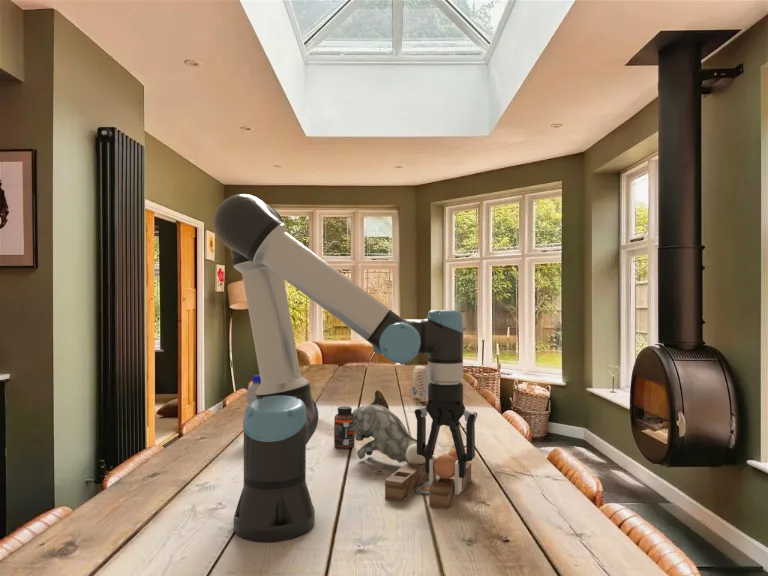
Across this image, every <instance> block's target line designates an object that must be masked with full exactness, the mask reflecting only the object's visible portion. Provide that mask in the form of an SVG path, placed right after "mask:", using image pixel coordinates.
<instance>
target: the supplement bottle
mask: <svg viewBox="0 0 768 576" xmlns="http://www.w3.org/2000/svg"><path fill="white" fill-rule="evenodd" d="M352 413H353V411H352V407H351V406H347V405H343V406H338V407H337V413H336V414H335V415H334V420H333V421H334V423H333V427H334V428H333V430H334V431H333V437H334V439H333V442H334V443H333V445H334V447H335V448H337V449H343V450H345V449H347V450H348V449H351V448H354V447H355V443H356V442H355V440H356V439H355V433H354V430H353V422H352Z"/></svg>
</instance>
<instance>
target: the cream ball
mask: <svg viewBox="0 0 768 576" xmlns="http://www.w3.org/2000/svg"><path fill="white" fill-rule="evenodd" d="M406 458H407V460H408V462H409V463H410V464H412V465H421V464H423V463H424V462H425V457H424V456H422V455H418V454H417V444H412V445H410V446H409V447H408V448H407V451H406Z"/></svg>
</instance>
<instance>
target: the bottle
mask: <svg viewBox="0 0 768 576" xmlns="http://www.w3.org/2000/svg"><path fill="white" fill-rule="evenodd" d="M251 382H252V383H251V384H249V385H248V386H247V392H246V393H247V394H246V402H247V406H248V405H249V404H250V403H251V402H253V401H254V400H257V398H256V391H257V389H258V388H259V386H260V385H261V379H260V374H254V375H253V376H252V378H251Z"/></svg>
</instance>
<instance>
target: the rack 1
mask: <svg viewBox="0 0 768 576" xmlns="http://www.w3.org/2000/svg"><path fill="white" fill-rule="evenodd" d="M427 479H429V473H426V471H425V462H424V463H423V464H421V465H412V464H410V463H409V462H408V463H407V462H406V463H405V464H403V466H401V467H400V468H398V469H397V470H396V471H395V472H393V473H392V474H390V476H388V477H387V478H386V479H384V499H385V500H390V501H397V502H400V503H402V502H403V501H405V500H406V499H408V498H409V496H411V494H412V493H413V492H414V491H416V490H417V489H418V488H419V487H420V486H422V485H423V484H424V483H425V482H426V481H427Z"/></svg>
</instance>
